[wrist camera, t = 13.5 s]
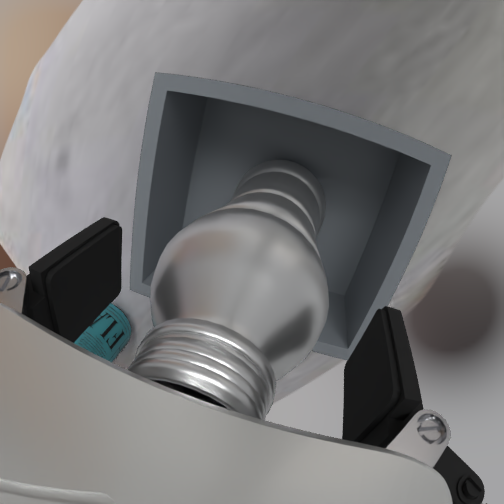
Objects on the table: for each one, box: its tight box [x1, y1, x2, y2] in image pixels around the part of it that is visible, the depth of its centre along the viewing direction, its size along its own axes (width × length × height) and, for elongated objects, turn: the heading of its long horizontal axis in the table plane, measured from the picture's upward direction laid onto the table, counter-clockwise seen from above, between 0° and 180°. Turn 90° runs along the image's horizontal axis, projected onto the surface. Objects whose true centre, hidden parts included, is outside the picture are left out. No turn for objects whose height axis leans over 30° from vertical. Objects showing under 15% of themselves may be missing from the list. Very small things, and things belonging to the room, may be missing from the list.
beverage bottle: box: [74, 303, 131, 362], centre depth 26 cm, size 6×7×20 cm
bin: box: [130, 72, 452, 360], centre depth 22 cm, size 15×17×8 cm
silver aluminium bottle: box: [128, 160, 329, 420], centre depth 15 cm, size 6×7×20 cm
